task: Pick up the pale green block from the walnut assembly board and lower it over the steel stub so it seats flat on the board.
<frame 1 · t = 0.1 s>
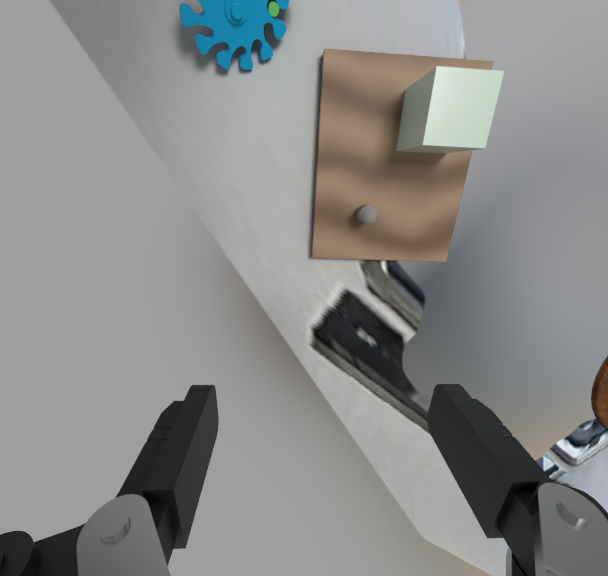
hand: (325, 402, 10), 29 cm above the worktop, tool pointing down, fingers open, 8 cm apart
pale green block: (426, 122, 32), point 1 cm above the worktop, touching assembly board
gear: (246, 25, 29), on the worktop
assembly board: (389, 170, 35), on the worktop
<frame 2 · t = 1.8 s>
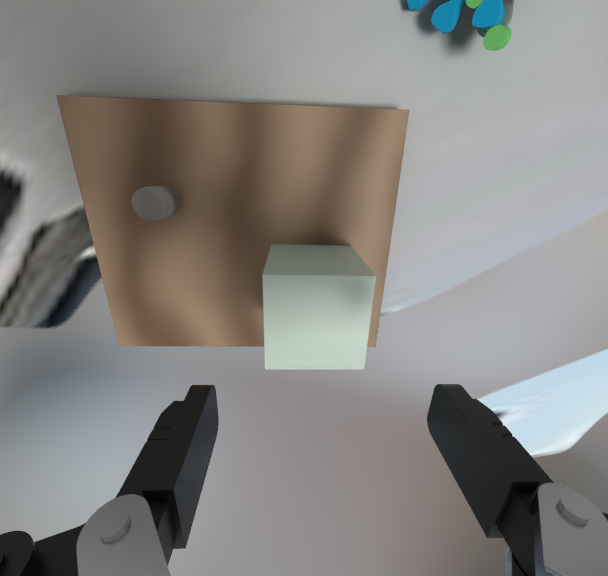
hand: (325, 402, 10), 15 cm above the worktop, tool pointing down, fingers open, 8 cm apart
pale green block: (310, 282, 22), point 1 cm above the worktop, touching assembly board
assembly board: (247, 239, 23), on the worktop
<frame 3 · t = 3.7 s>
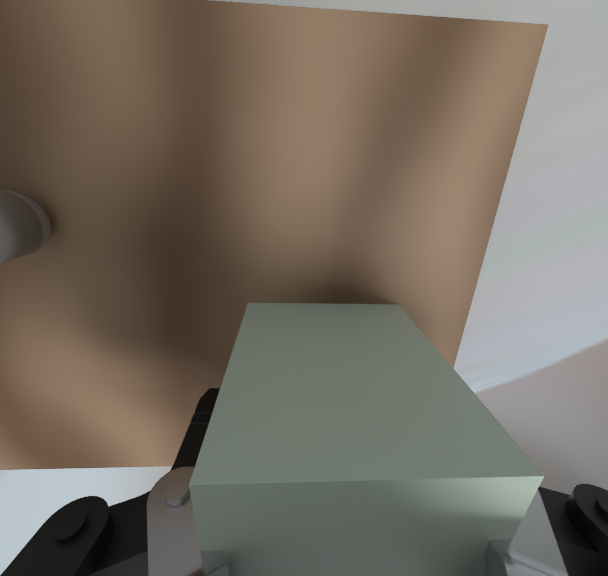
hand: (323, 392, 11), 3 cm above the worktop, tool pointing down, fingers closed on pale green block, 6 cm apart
pale green block: (320, 366, 12), point 2 cm above the worktop, touching assembly board, gripper
assembly board: (206, 287, 12), on the worktop
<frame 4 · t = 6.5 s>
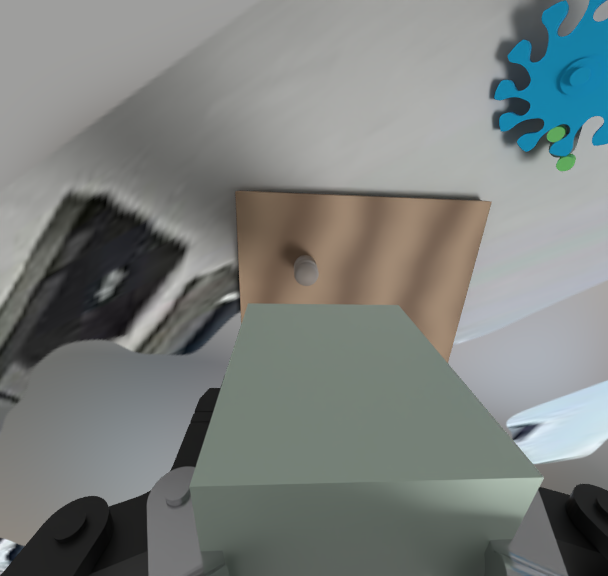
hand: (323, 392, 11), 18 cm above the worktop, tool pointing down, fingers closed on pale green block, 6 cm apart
pale green block: (320, 366, 12), point 16 cm above the worktop, touching gripper
gear: (534, 99, 23), on the worktop
assembly board: (352, 288, 29), on the worktop
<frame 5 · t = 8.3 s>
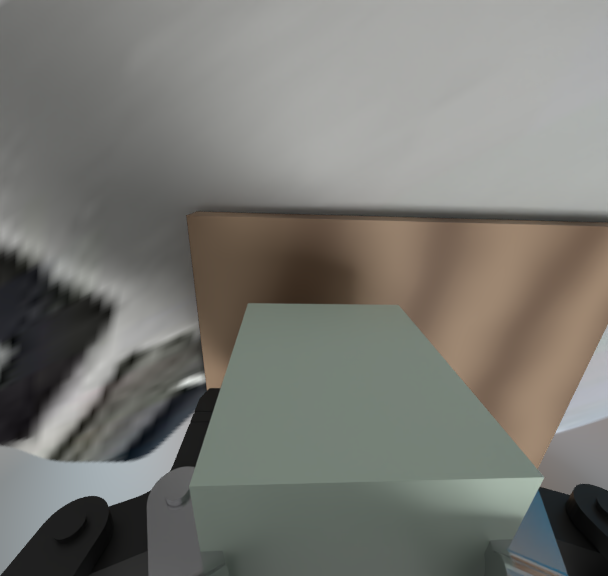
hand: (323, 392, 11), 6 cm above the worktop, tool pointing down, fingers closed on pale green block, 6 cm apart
pale green block: (320, 366, 12), point 4 cm above the worktop, touching gripper
assembly board: (391, 364, 18), on the worktop
when the fingers open (4 cm above the worktop, at t = 9.6 s): pale green block stays where it is, resting on assembly board.
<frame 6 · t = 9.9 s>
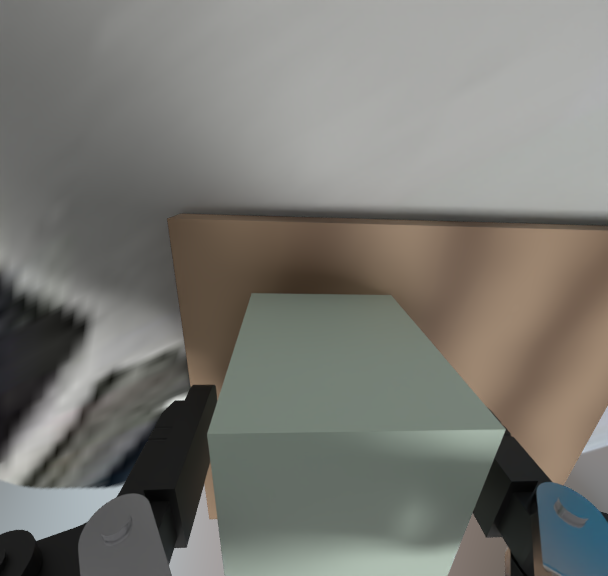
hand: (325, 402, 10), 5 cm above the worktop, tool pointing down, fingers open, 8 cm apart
pale green block: (318, 353, 13), point 1 cm above the worktop, touching assembly board
assembly board: (400, 382, 16), on the worktop
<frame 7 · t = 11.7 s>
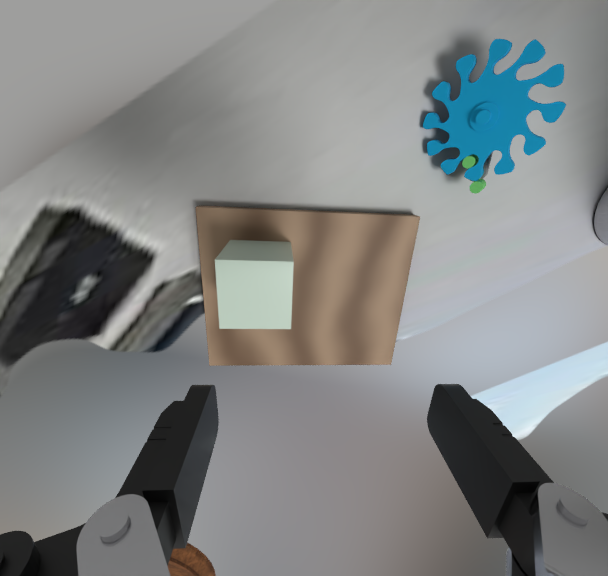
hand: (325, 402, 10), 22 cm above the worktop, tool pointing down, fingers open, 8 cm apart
pale green block: (260, 269, 29), point 1 cm above the worktop, touching assembly board
gear: (458, 130, 28), on the worktop
assembly board: (305, 291, 32), on the worktop
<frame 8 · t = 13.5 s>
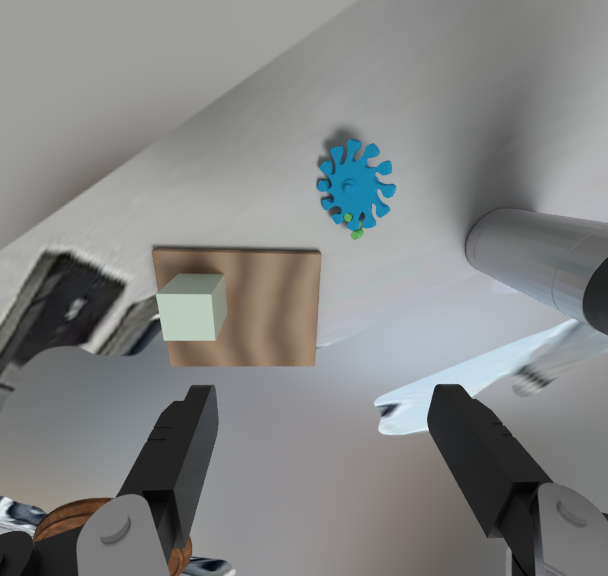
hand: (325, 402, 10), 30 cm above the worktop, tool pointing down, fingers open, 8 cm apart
pale green block: (203, 294, 39), point 1 cm above the worktop, touching assembly board
gear: (347, 190, 37), on the worktop
cutting board: (117, 544, 62), on the worktop
assembly board: (242, 309, 42), on the worktop
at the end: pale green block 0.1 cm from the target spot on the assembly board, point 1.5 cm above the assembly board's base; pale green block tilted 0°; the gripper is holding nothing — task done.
